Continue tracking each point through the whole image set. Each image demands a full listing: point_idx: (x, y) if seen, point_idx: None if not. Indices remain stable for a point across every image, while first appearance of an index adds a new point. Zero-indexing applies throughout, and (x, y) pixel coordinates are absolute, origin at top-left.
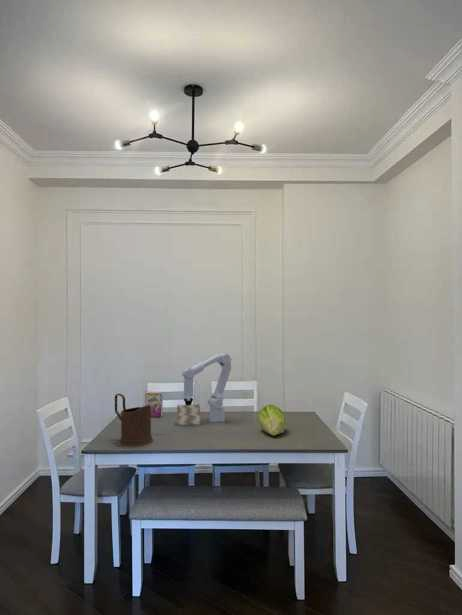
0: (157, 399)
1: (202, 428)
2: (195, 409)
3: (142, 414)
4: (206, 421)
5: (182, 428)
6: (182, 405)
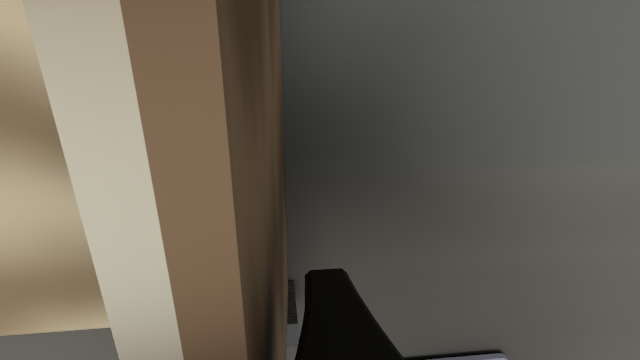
0: None
1: None
2: None
3: None
4: (505, 327)
5: None
6: (119, 306)
